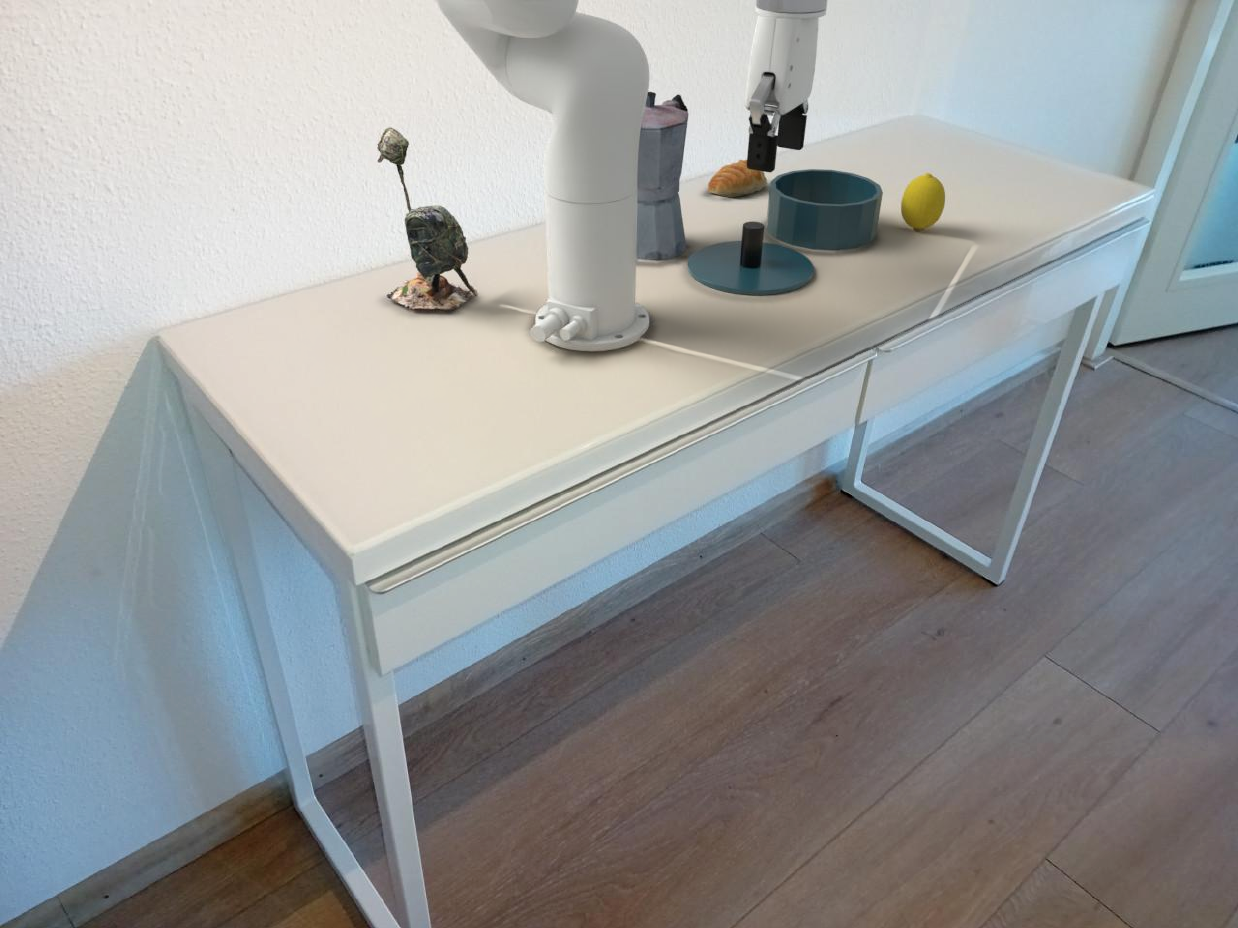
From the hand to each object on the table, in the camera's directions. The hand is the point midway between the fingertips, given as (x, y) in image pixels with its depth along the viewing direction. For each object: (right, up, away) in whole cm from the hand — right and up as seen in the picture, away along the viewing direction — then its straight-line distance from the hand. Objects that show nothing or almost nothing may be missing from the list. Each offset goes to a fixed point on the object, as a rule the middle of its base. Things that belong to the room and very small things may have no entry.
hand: (775, 158), depth 114 cm
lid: (-2, -11, +7) cm, 13 cm away
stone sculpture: (-39, -17, 0) cm, 43 cm away
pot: (+9, -4, +18) cm, 21 cm away
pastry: (-1, +5, +32) cm, 33 cm away
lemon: (+22, -4, +19) cm, 29 cm away
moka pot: (-14, -8, +13) cm, 21 cm away
